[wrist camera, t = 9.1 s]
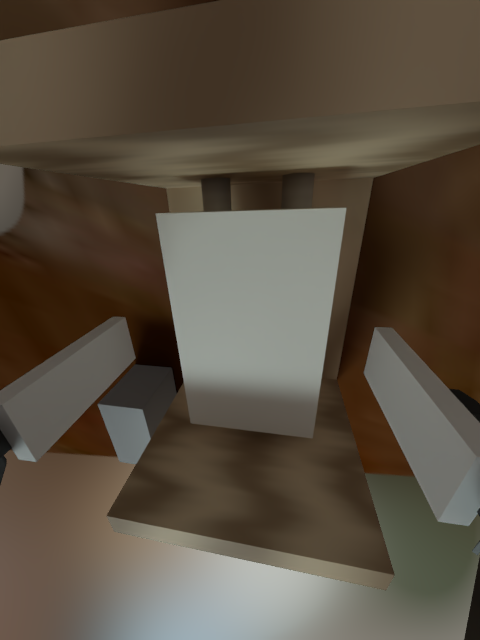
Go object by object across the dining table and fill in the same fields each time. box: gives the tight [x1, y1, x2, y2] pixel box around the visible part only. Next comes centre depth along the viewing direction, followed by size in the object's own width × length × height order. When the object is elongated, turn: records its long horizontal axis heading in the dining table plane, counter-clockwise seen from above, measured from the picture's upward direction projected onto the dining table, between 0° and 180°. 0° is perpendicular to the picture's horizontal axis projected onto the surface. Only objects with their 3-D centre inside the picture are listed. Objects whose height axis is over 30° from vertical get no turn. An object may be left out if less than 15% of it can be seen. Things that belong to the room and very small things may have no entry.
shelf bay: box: [0, 0, 480, 590], centre depth 14 cm, size 14×19×14 cm
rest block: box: [98, 364, 177, 464], centre depth 25 cm, size 4×8×6 cm, turn 2°
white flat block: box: [156, 207, 346, 438], centre depth 14 cm, size 8×13×3 cm, turn 2°
